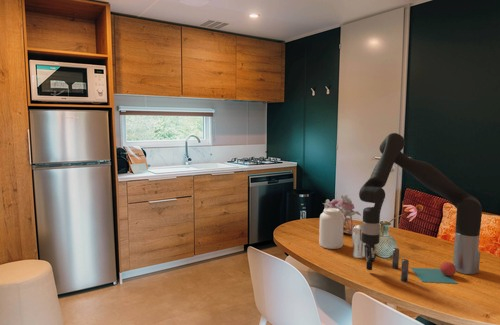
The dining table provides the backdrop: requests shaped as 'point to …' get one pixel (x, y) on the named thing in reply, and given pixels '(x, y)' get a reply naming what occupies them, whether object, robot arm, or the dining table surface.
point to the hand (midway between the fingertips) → (369, 269)
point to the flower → (343, 209)
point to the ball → (447, 268)
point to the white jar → (331, 229)
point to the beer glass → (357, 242)
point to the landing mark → (432, 275)
